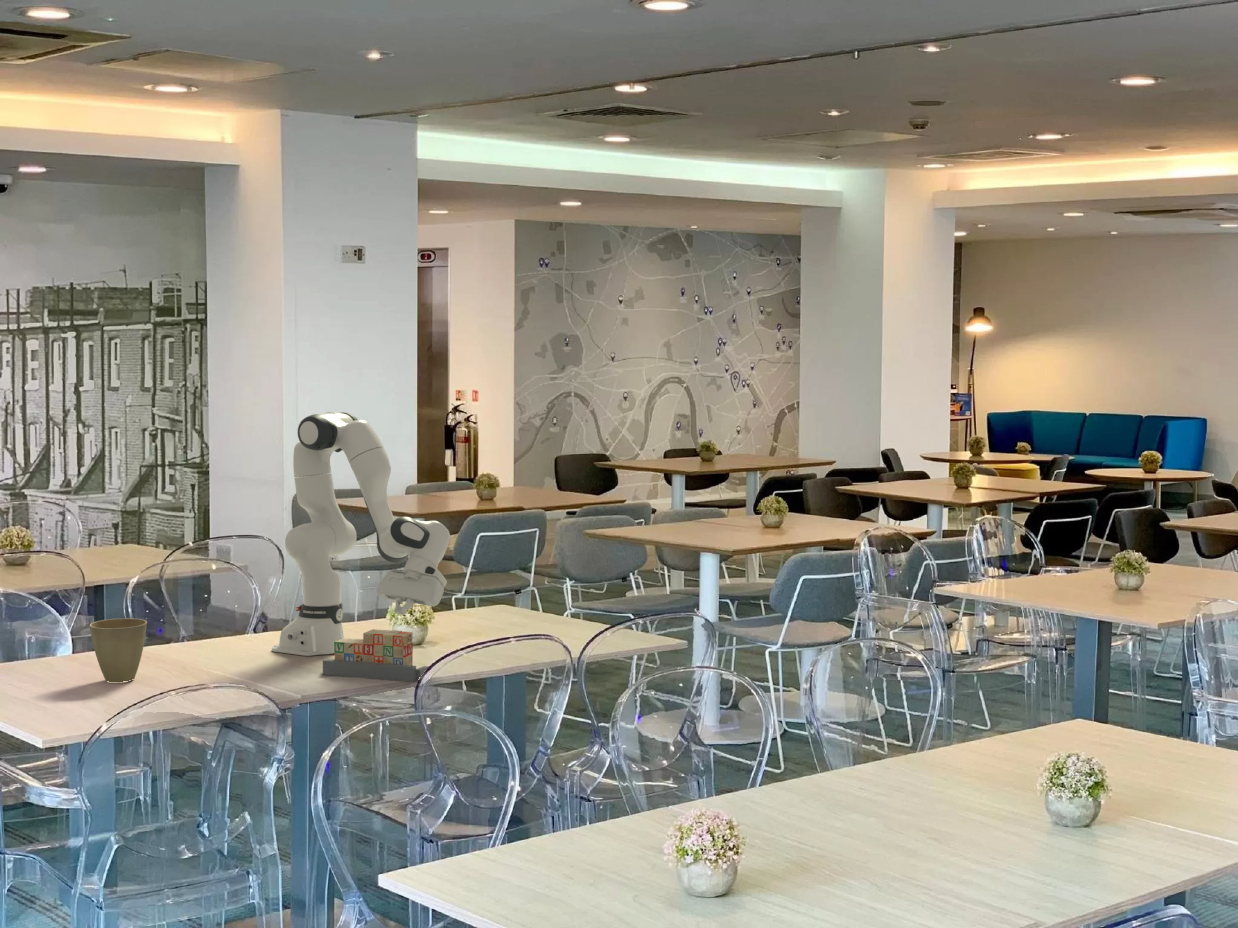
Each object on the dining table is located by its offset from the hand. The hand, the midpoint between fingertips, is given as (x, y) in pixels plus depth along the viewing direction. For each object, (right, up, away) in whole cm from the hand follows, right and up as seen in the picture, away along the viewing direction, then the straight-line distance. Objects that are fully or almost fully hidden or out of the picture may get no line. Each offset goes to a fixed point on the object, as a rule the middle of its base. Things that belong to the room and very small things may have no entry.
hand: (398, 613), depth 439 cm
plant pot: (-74, -17, -17) cm, 78 cm away
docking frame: (-5, -16, -11) cm, 20 cm away
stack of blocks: (-6, -16, -9) cm, 20 cm away
